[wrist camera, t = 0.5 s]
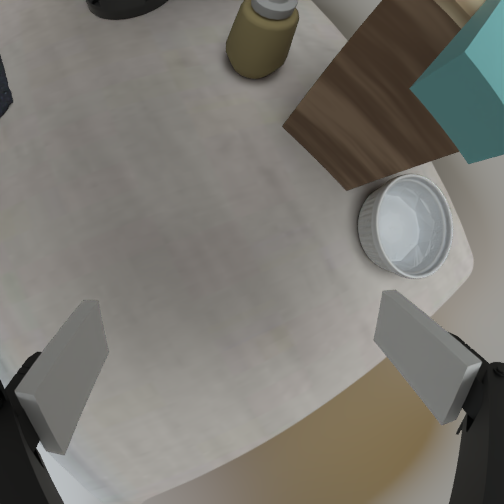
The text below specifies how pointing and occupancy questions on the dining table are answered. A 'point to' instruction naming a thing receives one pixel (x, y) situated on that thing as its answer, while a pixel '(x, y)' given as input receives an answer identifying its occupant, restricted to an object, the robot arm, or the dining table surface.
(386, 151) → the post
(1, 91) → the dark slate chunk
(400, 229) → the ramekin
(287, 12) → the squeeze bottle
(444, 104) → the peg
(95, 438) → the dining table surface
